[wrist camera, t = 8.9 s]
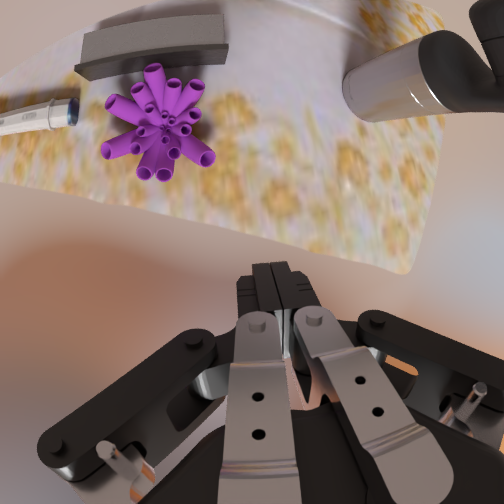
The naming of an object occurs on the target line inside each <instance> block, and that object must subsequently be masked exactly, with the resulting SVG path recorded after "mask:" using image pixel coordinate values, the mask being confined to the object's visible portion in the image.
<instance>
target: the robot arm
mask: <svg viewBox="0 0 504 504" xmlns="http://www.w3.org/2000/svg"><path fill="white" fill-rule="evenodd" d="M469 18H470V20H471V23H472V25H473V28H474V30H475V32H476V34H477V37H478V39H479V41H480V42H481V43H482V44H481V45H482V47H483V50H484V52H485V54H486V57H487V59H488V61H489V64H490V66H491V69H492V70H491V69H490V68H489V67H488V66H487V65H486V64H485V62H483V60H482V59H481V58H480V56H479V55H478V54H477V53H476V51H475V50H474V49H473V48H472V46H471V45H470V44H469V43H468V42H467V41H465V40H464V39H463V38H462V37H461V36H459V35H457V34H456V33H454V32H451V31H447V30H440V31H436V32H433V33H430V34H428V35H425V36H423V37H420V38H418V39H415V40H413V41H411V42H409V43H406V44H404V45H402V46H399V47H397V48H395V49H393V50H391V51H388V52H386V53H384V54H382V55H380V56H378V57H376V58H374V59H372V60H370V61H368V62H366V63H364V64H362V65H360V66H358V67H356V68H354V69H352V70H350V71H349V72H348V73H347V74H346V76H345V78H344V81H343V95H344V98H345V101H346V103H347V105H348V106H349V108H350V109H351V110H352V112H353V113H354V114H355V115H357V116H358V117H359V118H361V119H362V120H365V121H368V122H380V121H387V120H395V119H402V118H410V117H418V116H428V115H438V114H448V113H463V112H502V113H504V0H479V1H477V2H476V3H475V4H473V5H472V6H471V8H470V10H469ZM236 285H237V302H238V321H237V323H236V326H235V328H234V329H232V330H231V331H229V332H227V333H225V334H223V335H219V336H216V337H214V335H213V334H212V333H211V332H209V331H207V330H204V329H190V330H186V331H184V332H182V333H180V334H179V335H177V336H176V337H175V338H173V339H172V340H171V341H169V342H168V343H167V344H165V345H164V346H163V347H162V348H160V349H159V350H157V351H156V352H155V353H153V354H152V355H151V356H149V357H148V358H147V359H145V360H144V361H143V362H141V363H140V364H139V365H137V366H136V367H134V368H133V369H132V370H131V371H129V372H128V373H126V374H125V375H124V376H122V377H121V378H119V379H118V380H117V381H116V382H114V383H113V384H111V385H110V386H109V387H107V388H106V389H104V390H103V391H102V392H100V393H99V394H97V395H96V396H95V397H93V398H92V399H90V400H89V401H88V402H86V403H85V404H84V405H82V406H81V407H79V408H78V409H76V410H75V411H74V412H72V413H71V414H69V415H68V416H66V417H65V418H64V419H62V420H61V421H59V422H58V423H57V424H55V425H54V426H52V427H51V428H49V429H48V430H46V431H45V432H44V433H43V434H42V435H41V437H40V438H39V441H38V444H37V453H38V456H39V458H40V460H41V461H42V462H43V463H44V464H45V465H46V466H47V467H49V468H50V469H51V470H52V471H54V472H55V473H56V474H57V475H58V476H59V477H60V478H61V479H63V480H64V481H65V482H67V483H68V484H69V485H71V487H72V488H73V489H74V491H75V492H76V493H77V494H78V496H79V497H80V498H81V500H82V501H83V502H84V503H85V504H504V454H503V453H502V452H501V451H499V448H500V445H501V441H502V438H503V434H504V360H502V359H499V358H497V357H494V356H491V355H489V354H487V353H484V352H482V351H479V350H476V349H474V348H472V347H469V346H467V345H465V344H462V343H460V342H457V341H455V340H452V339H450V338H447V337H445V336H442V335H440V334H438V333H435V332H433V331H430V330H428V329H425V328H423V327H421V326H418V325H416V324H413V323H411V322H408V321H406V320H403V319H401V318H398V317H396V316H394V315H391V314H389V313H387V312H384V311H380V310H368V311H365V312H364V313H362V314H361V315H360V316H359V318H358V322H355V321H342V320H337V319H336V318H335V316H334V315H333V313H332V312H331V311H330V310H328V309H326V308H324V307H322V306H321V304H320V302H319V300H318V298H317V296H316V294H315V292H314V290H313V288H312V286H311V284H310V281H309V279H308V278H307V276H305V275H304V274H303V273H302V272H300V271H294V272H291V270H290V268H289V266H288V263H287V261H282V262H271V263H270V264H269V263H259V264H252V275H250V276H241V277H240V278H239V280H238V281H237V284H236ZM282 354H283V358H291V361H292V376H293V379H294V381H295V384H296V387H297V390H298V393H299V396H300V398H301V401H302V404H303V407H304V410H290V402H289V394H288V385H287V376H286V368H285V362H284V361H283V360H282ZM387 355H390V356H392V357H394V358H396V359H399V360H400V361H403V362H405V363H407V364H409V365H412V366H413V367H415V368H416V369H417V371H418V374H419V375H417V376H415V375H411V374H409V373H407V372H405V371H403V370H400V369H398V368H396V367H394V366H392V365H390V364H388V363H386V362H385V360H386V357H387ZM226 395H228V398H227V411H226V424H225V425H223V426H221V427H219V428H217V429H215V430H214V431H212V432H211V433H209V434H208V435H206V436H205V437H204V438H203V439H202V440H201V441H200V442H199V443H198V444H197V445H196V446H195V447H194V448H193V449H192V450H191V451H190V452H189V453H188V454H187V455H186V456H185V457H184V459H183V460H181V461H180V463H179V464H178V465H177V466H176V467H175V468H174V469H173V470H172V471H171V472H170V473H169V474H168V475H166V476H165V477H164V478H163V479H162V480H161V481H160V482H159V483H158V484H157V485H156V486H155V487H154V488H153V489H152V490H151V491H150V492H149V490H150V489H151V488H152V487H153V485H154V482H155V472H154V470H153V468H154V467H155V466H157V465H158V464H159V463H160V462H161V461H162V460H163V459H164V458H166V456H168V455H169V454H170V453H171V452H172V451H173V450H174V449H175V448H176V447H178V446H179V445H180V444H181V443H182V442H183V441H184V440H185V439H186V438H187V437H188V436H189V435H190V434H191V433H192V432H193V431H194V430H195V429H196V428H197V427H199V426H200V425H201V424H202V422H204V420H206V419H207V418H208V416H210V415H211V414H212V413H213V412H214V411H215V410H216V409H217V408H218V407H219V405H220V404H221V403H222V402H223V401H224V399H225V396H226ZM148 492H149V493H148ZM147 493H148V494H147Z"/></svg>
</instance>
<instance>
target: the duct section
mask: <svg viewBox="0 0 504 504" xmlns="http://www.w3.org/2000/svg"><path fill="white" fill-rule="evenodd" d="M228 49H229V46H228V44H224V14H207V15H188V16H176V17H166V18H158V19H151V20H144V21H138V22H132V23H127V24H122V25H117V26H113V27H109V28H104V29H100V30H97V31H93V32H89V33H86V34H84V39H83V46H82V53H81V61H80V64H78V65H75V68H74V71H75V72H77V73H78V74H80V75H81V76H83V77H84V78H86V79H87V80H88V81H93V80H97V79H102V78H106V77H111V76H116V75H121V74H127V73H133V72H139V71H144V68H145V67H146V66H148V65H150V64H153V63H160V64H161V65H162V67H163V68H170V67H181V66H195V65H218V64H225V61H226V57H227V53H228Z"/></svg>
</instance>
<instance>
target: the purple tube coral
mask: <svg viewBox="0 0 504 504" xmlns="http://www.w3.org/2000/svg"><path fill="white" fill-rule="evenodd" d="M144 79H145V83H144V82H138V83H136V84H134V85H133V86H132V88H131V90H130V92H131V94H132V96H133V98H134V100H135V101H136V102H135V101H133V100H130V99H128V98H126V97H124V96H121V95H118V94H112V95H111V96H109V98H108V99H107V101H106V103H105V109H106V110H107V111H108V112H110V113H112V114H113V115H115V116H117V117H119V118H121V119H123V120H125V121H127V122H129V123H132V124H134V125H136V126H138V128H137V129H135V130H132V131H130V132H127V133H125V134H122V135H120V136H117V137H115V138H112V139H110V140H108V141H106V142H104V143H103V144H102V146H101V153H102V156H103V157H104V158H105V159H108V160H109V159H114V158H117V157H120V156H123V155H126V154H129V153H132V154H134V155H138V154H141V153H143V152H144V154H143V157H142V159H141V161H140V163H139V165H138V167H137V170H136V174H137V176H138V178H140V179H141V180H148V179H150V178H151V177H152V176H153V175H154V173H155V175H156V178H157V179H158V180H159V181H161V182H167V181H169V180H170V179H171V178H172V176H173V172H174V162H175V159H178V158H179V157H180V155H181V153H182V154H184V155H185V156H186V157H188V158H189V159H190V160H192V161H193V162H195V163H196V164H198V165H200V166H202V167H209V166H211V165H212V164H213V163H214V161H215V157H216V156H215V153H214V152H213V151H212V149H210V148H209V147H208V146H207V145H206V144H204V143H203V142H202V141H200V140H199V139H197V138H196V137H195V136H193V135H192V134H190V133H191V131H192V128H191V126H190V125H192V124H194V123H195V122H197V121H198V120H199V119H200V118H201V115H202V114H201V111H200V109H198V108H196V107H194V105H195V104H196V103H197V101H198V100H199V98H200V97H201V95H202V93H203V91H204V89H205V84H204V83H203V82H202V81H201V80H199V79H192V80H190V81H189V82H188V83H187V85H186V86H185V87H184V89H183V90H182V82H181V81H180V80H179V79H177V78H171V79H169V80H168V81H167V79H166V75H165V72H164V69H163V67H162V65H161V64H160V63H153V64H150V65H148V66H146V67H145V68H144ZM193 107H194V108H193Z"/></svg>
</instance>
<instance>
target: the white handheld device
mask: <svg viewBox="0 0 504 504" xmlns="http://www.w3.org/2000/svg"><path fill="white" fill-rule="evenodd" d="M78 113H79V101H78V99H76V98H69V99H61V100H56V99H54V98H52V99H51V100H50V101H49V102H44V103H40V104H36V105H31V106H27V107H23V108H20V109H16V110H12V111H9V112H5V113H2V114H0V136H2V135H7V134H13V133H20V132H26V131H34V130H42V129H48V130H52V131H54V130H55V129H56V128H59V127H67V126H76V123H77V121H78Z"/></svg>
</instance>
